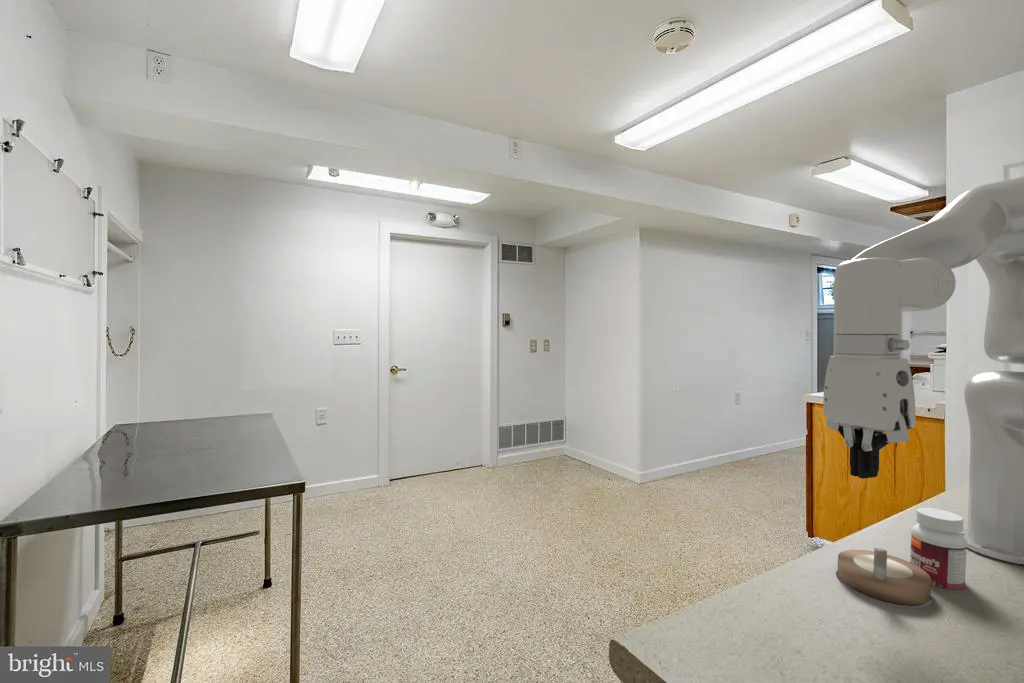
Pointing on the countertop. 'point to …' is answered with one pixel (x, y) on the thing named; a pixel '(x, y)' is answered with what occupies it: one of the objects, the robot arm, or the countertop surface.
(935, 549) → the pill bottle
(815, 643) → the countertop surface
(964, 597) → the countertop surface
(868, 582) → the turntable
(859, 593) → the base
